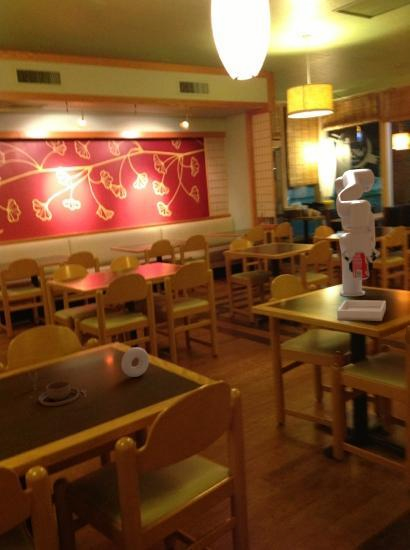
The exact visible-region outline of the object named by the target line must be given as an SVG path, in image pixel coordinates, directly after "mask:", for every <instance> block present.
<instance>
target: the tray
mask: <svg viewBox="0 0 410 550" xmlns="http://www.w3.org/2000/svg"><path fill="white" fill-rule="evenodd" d="M386 310H387V301H386V300H366V299H363V300H359V299H357V300H356V299H344V301H342V303H341V305H340V306H339V307H338V308H337V310H336V311H337V312H336V315H337V316H336V318H337V320H339V321H340V320H341V321H342V320H343V321H374V322H375V321H376V322H382V321H383V318H384V316H385V313H386Z"/></svg>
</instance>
